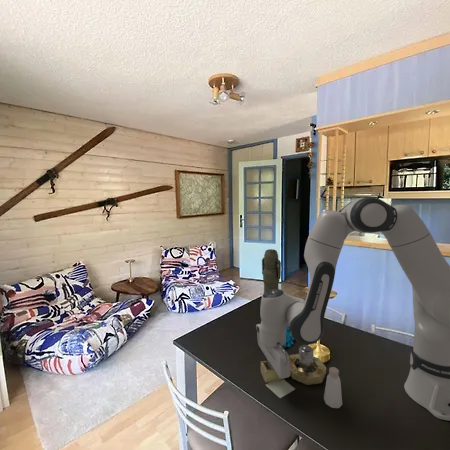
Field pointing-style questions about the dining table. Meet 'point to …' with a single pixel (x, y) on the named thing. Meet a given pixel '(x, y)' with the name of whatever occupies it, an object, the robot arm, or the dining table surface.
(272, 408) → the dining table surface
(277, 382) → the pad
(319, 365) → the octagonal ring with loop
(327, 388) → the salt shaker
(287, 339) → the gear
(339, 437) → the dining table surface
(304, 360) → the stud
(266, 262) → the thermos
